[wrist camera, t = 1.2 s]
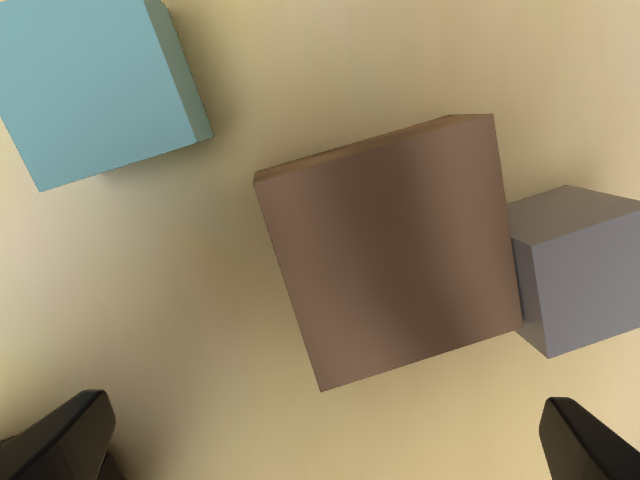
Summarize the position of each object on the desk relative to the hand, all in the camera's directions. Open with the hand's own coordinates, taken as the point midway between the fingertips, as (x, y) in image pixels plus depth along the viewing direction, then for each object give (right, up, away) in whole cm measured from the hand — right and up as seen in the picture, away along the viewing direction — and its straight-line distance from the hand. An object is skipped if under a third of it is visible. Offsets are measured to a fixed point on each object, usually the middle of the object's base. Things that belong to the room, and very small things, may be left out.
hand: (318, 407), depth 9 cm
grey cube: (+10, +3, +13) cm, 16 cm away
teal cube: (-8, +9, +8) cm, 15 cm away
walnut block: (+3, +4, +12) cm, 12 cm away
